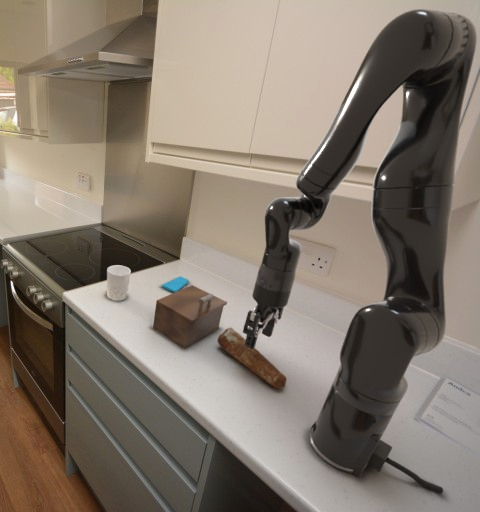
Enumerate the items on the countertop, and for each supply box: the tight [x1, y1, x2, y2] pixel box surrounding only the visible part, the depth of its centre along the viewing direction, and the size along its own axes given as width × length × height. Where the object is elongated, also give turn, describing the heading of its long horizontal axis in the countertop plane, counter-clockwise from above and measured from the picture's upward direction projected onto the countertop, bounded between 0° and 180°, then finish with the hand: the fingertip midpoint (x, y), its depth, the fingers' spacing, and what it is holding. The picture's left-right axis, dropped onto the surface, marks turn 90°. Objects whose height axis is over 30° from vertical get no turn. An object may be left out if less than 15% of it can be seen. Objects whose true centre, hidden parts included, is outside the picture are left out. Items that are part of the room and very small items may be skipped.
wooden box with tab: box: [155, 284, 228, 323], centre depth 97 cm, size 12×17×4 cm
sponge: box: [161, 276, 190, 293], centre depth 126 cm, size 2×12×6 cm
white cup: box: [106, 264, 132, 302], centre depth 115 cm, size 8×8×10 cm
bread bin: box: [152, 302, 224, 350], centre depth 100 cm, size 12×17×9 cm
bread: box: [217, 327, 287, 389], centre depth 87 cm, size 6×19×6 cm, turn 24°
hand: (258, 340), depth 85 cm, fingers open, 8 cm apart
